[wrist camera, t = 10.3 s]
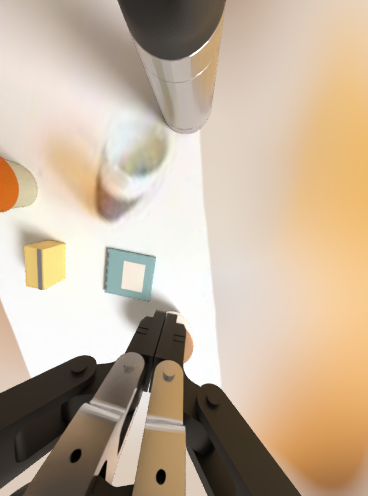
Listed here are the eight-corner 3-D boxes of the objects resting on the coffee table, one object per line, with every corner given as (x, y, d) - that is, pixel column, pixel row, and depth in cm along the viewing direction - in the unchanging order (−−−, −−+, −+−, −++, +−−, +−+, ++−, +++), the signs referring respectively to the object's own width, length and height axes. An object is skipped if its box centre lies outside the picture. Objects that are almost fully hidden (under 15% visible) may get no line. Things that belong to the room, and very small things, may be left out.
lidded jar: (202, 320, 42) (204, 351, 33) (176, 347, 45) (171, 383, 36) (167, 295, 41) (159, 320, 32) (143, 324, 44) (129, 355, 35)
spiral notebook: (109, 248, 40) (107, 249, 39) (156, 257, 39) (154, 258, 38) (106, 290, 42) (104, 292, 41) (149, 299, 42) (148, 301, 41)
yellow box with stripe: (49, 240, 40) (23, 246, 34) (65, 243, 40) (42, 250, 34) (49, 275, 43) (25, 286, 37) (65, 278, 43) (43, 290, 37)
